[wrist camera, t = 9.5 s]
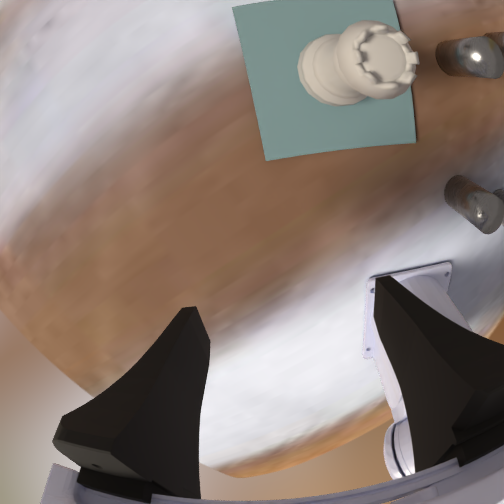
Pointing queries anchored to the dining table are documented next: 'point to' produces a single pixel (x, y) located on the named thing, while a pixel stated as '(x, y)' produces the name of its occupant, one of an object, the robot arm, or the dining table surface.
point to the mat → (293, 92)
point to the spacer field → (486, 66)
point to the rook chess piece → (358, 64)
